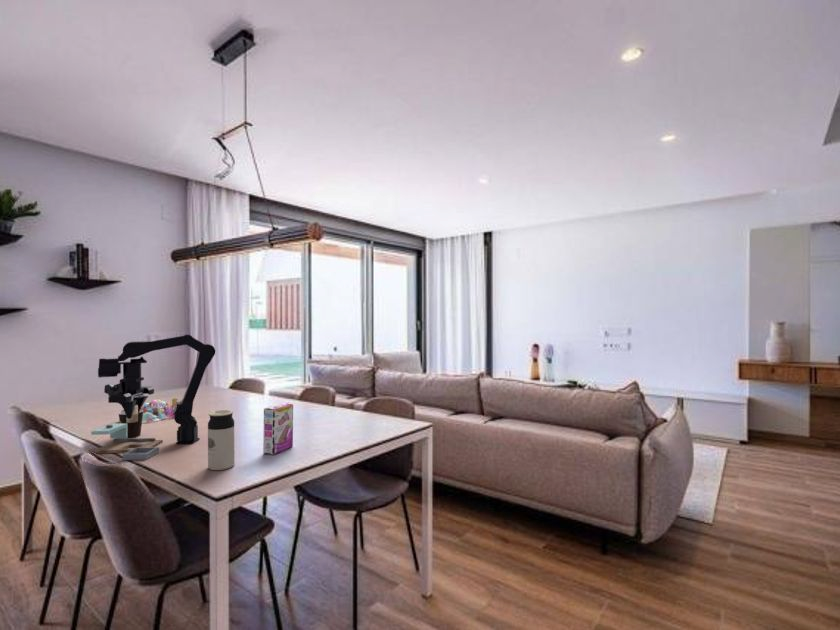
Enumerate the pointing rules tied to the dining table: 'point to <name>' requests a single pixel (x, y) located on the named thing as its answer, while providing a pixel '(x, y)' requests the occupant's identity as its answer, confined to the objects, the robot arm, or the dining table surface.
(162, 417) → the pastel sphere sculpture
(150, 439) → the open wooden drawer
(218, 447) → the travel mug
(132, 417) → the maple peg
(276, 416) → the candy bar box
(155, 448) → the slate tray
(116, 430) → the teal lid
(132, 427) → the coffee mug
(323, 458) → the dining table surface
